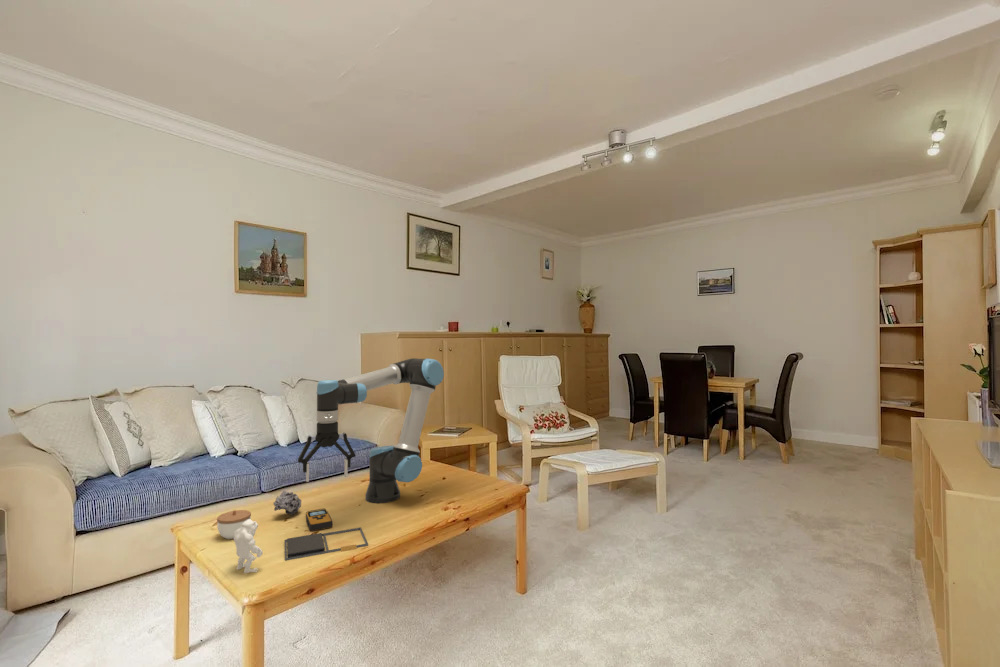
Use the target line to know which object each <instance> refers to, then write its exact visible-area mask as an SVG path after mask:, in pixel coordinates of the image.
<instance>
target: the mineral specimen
mask: <svg viewBox="0 0 1000 667" xmlns="http://www.w3.org/2000/svg"><path fill="white" fill-rule="evenodd" d="M273 506H274V511H277V510H280V511H281V510H284V511H285V514H287V515H290V516H294V515H295V514H296V513H298V512H299V510H300V508H301V507H302V499H300V498H299V495H298V494H296V493H294V492H292V491H290V492H289V491H286V490H283V491H282V492H281V493H280V495H278V496H277V497H276V498H275V501H273Z"/></svg>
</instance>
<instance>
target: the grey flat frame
mask: <svg viewBox="0 0 1000 667" xmlns="http://www.w3.org/2000/svg"><path fill="white" fill-rule="evenodd" d="M356 531H359V532H360V534H361V536H362V539H363V541H364V543H363V544H356V543H355V544H351V545H350V544H349V545H345V546H340V547H338V548H334V549H329V546H328V541H327V536H332V535H337V534H344V533H350V532H356ZM367 546H369V543H368V539H367V538H366V535H365V533H364V531H363V529H362V527H356V528H355V527H354V528H349V529H344V530H343V529H342V530H341V529H340V530H336V531H331V532H325V533H322V532H320V533H319V532H318V533H313V534H307V535H300V536H294V537H287V539H284V561H285V562H286V561H290V560H296V559H301V558H309V557H312V556H313V557H314V556H318V555H325V554H328V553H329V554H330V553H335V552H347V551H352V550H357V549H358V548H363V547H367Z"/></svg>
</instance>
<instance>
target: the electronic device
mask: <svg viewBox="0 0 1000 667" xmlns="http://www.w3.org/2000/svg"><path fill="white" fill-rule="evenodd" d="M305 520H306V524H307V526H308V528H309V531H310V532H314V531H319V530H325V529H330V528H332V527H333V520H332V518H331V515H330V513H329V511H328V510H327V509H326V508H318V509H312V510H307V511H306V512H305Z"/></svg>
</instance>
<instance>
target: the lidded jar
mask: <svg viewBox="0 0 1000 667" xmlns="http://www.w3.org/2000/svg"><path fill="white" fill-rule="evenodd" d="M251 517H252V512H251V511H250V510H246V509H245V510H244V509H239V510H238V509H237V510H235V509H234V510H231V511H227V512H224V513H221V514H220V515H218V516H217V518H216V522H217V531H218V533H219V535H220V537H222V538H224V539H226V540H234V532H235V531H236V530H237V529H239V528H241V527H242V523H243V522H245V521H247V520H248V519H251ZM251 520H252V519H251Z"/></svg>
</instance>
